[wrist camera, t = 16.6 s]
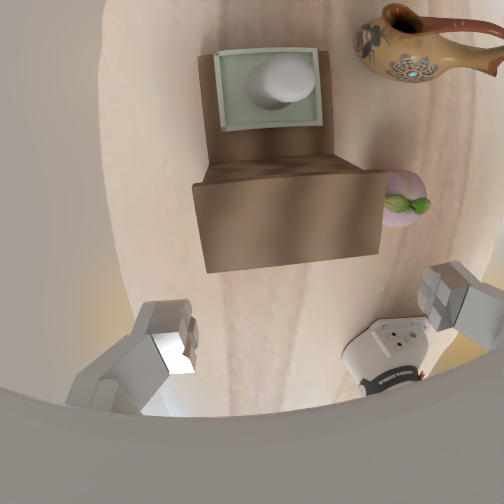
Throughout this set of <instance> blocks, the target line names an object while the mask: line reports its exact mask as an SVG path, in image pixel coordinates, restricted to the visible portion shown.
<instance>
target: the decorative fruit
mask: <svg viewBox="0 0 504 504" xmlns="http://www.w3.org/2000/svg"><path fill="white" fill-rule="evenodd" d="M383 172H385V173H386V187H385V200H384V211H383V221H382V225H384V226H386V227H389V228H402V227H407V226H409V225H411V224H413V223H414V222H415V221H416V220H417V219H418V218H419V217H420V215H421V214H423V213H425V212H426V211H427V210H428V209H429V207H430V205H431V203H430V201H429V200H428V199H426V189H425V186H424V183H423V181H422V180H421V178H420V177H419V176H418V175H417V174H415V173H413V172H411V171H407V170H396V171H393V172H391V171H383Z"/></svg>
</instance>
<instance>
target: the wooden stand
mask: <svg viewBox="0 0 504 504" xmlns="http://www.w3.org/2000/svg"><path fill="white" fill-rule="evenodd" d="M317 52H318V63H319V74H320V87H321V102H322V121H323V126H292V127H273V128H258V129H247V130H236V131H227V132H221V123H220V114H219V105H218V95H217V85H216V75H215V65H214V55H208V56H201V57H198V68H199V78H200V87H201V97H202V106H203V115H204V124H205V132H206V140H207V149H208V157H209V167H208V169H207V172H206V174H205V177H204V180H203V182H202V183H194V184H193V186H192V192H193V199H194V205H195V211H196V216H197V222H198V228H199V234H200V239H201V244H202V250H203V255H204V260H205V266H206V271H207V273H217V272H227V271H236V270H246V269H255V268H264V267H273V266H282V265H291V264H299V263H308V262H316V261H325V260H333V259H341V258H349V257H357V256H365V255H373V254H378V252H379V245H380V238H381V229H382V221H383V211H384V200H385V187H386V173H385V172H383V171H381V170H362V169H361V168H359V167H357V166H355V165H353V164H351V163H349V162H348V161H346V160H344V159H342V158H340V157H338V156H336V155H334V131H333V107H332V90H331V77H330V65H329V54H328V51H317Z"/></svg>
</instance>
